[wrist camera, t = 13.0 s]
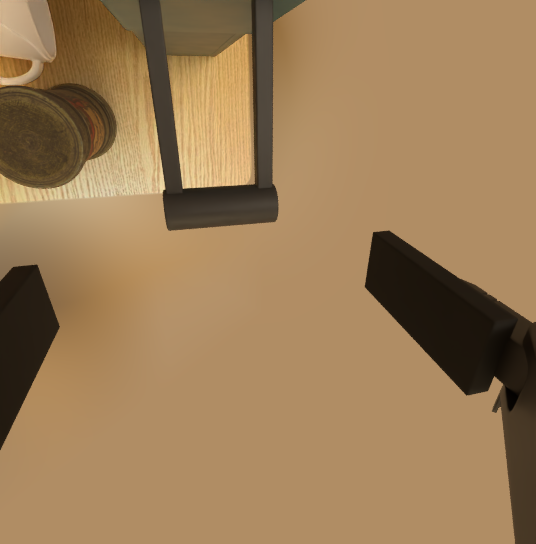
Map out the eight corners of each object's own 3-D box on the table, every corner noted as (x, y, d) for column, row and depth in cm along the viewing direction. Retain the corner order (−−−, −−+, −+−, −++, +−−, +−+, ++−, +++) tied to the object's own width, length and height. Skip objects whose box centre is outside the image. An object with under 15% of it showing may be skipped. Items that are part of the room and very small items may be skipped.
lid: (55, -78, 9) (126, 252, 14) (341, -54, 11) (319, 234, 15) (123, 14, 21) (149, 176, 25) (255, 19, 22) (257, 170, 27)
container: (46, 155, 46) (-20, 190, 30) (34, 78, 42) (-49, 74, 26) (119, 161, 48) (92, 197, 33) (114, 89, 44) (81, 91, 29)
